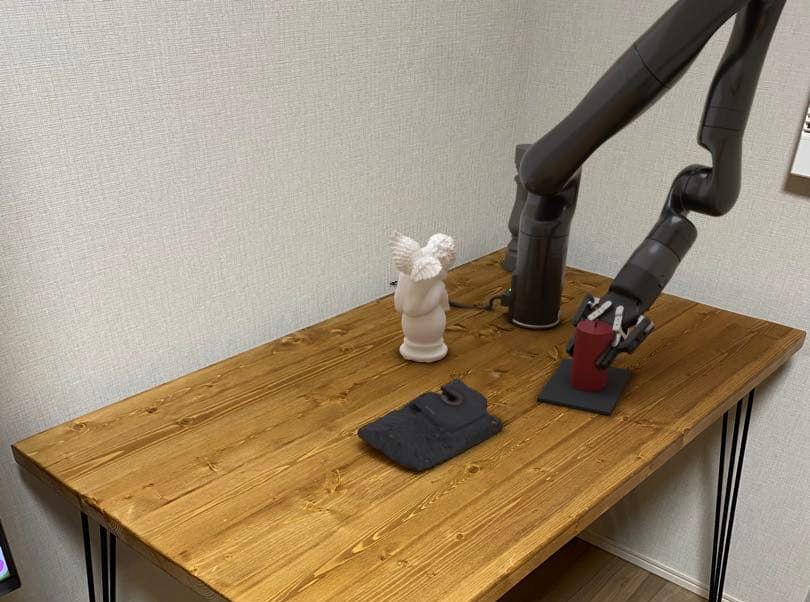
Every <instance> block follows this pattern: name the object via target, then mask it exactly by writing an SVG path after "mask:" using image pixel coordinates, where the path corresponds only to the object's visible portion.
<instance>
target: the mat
mask: <svg viewBox="0 0 810 602" xmlns="http://www.w3.org/2000/svg"><path fill="white" fill-rule="evenodd" d="M572 359H573V358H572ZM572 359H571V358H567V357H564V358H563V359H562V361H561V362H560V364H559V366H558V367H557V368H556V370H555V371H554V373H553V374H552V376H550V378H549V380H548V381H547V382H546V384H545V385H544V387H543V388H542V390H541V392H539V395H538V396H537V399H536V401H537V402H541V403H546V404H550V405H556V406H560V407H564V408H565V407H566V408H570V409H575V410H579V411H584V412H588V413H589V412H590V413H594V414H600V415H605V416H611V414H612V412H613V411H614V409H615V407H616V404H617V402H618V401H619V399H620V397H621V395H622V393H623V391H624V389H625V387H626V385H627V383H628V381H629V379H630V378H631V375H632V373H633V371H632V370H630V369H624V368H619V367H614V366H610V367H609V368H608V374H607V380H606V386H605V388H604V389H602V390H599V391H591V392H590V391H582V390H578V389H576V388H574V387H572V386H571V385H570V382H569V381H570V374H571V366H572Z"/></svg>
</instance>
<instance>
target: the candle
mask: <svg viewBox="0 0 810 602" xmlns="http://www.w3.org/2000/svg"><path fill="white" fill-rule="evenodd" d="M575 332H576V336H575V344H574V351H573V357H572V366H571V374H570V381H569V382H570V385H571V386H572V387H574V388H576V389H578V390H582V391H590V392H591V391H599V390H602V389H604V388H605V386H606V380H607V374H608V369H605V370H604V371H603V372H602V371H600V370H598V368H597V367H596V366H595V364H596V362H597V360H598V359H599V358H600V356H601V355H602V353H603V352H604V350H605V349H606V348H607V346H611V341H612V337H613V334H614V330H613V326H611V325H608V324H607V323H604V322H601V321H599V320H598V319H596V320H584V321H581V322H579V323H578V324H577V329H575Z"/></svg>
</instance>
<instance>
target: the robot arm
mask: <svg viewBox="0 0 810 602" xmlns="http://www.w3.org/2000/svg"><path fill="white" fill-rule="evenodd" d="M787 1H788V0H676V1H675V2H674V3H673V4H672V5H670V7H669V8H668V9H667V10H665V11H664V12H663V13H662V14H661V15H660V16H659V17H658V18H657V19H656V20H655V21H654V22H653V23H652V24H651V25H650V26H649V27H648V28H647V29H646V30H645V31H644V32H643V33H642V34H641V35H640V36H638V37H637V38H636V39H635V40H634V41H633V42H632V44H630V45H629V46H628V47H627V49H625V51H623V52H622V54H620V56H619V57H618V58H616V59H615V61H614V62H613V63H611V66H610V67H609V68H608V69H606V71H605V72H604V73H603V74H602V75H601V76H600V77H599V79H598V80H597V81H596V82H595V83H594V85H593V86H592V87H591V88H590V89H589V90H588V92H587V93H586V94H585V95H584V97H583V98H582V99H581V101H580V102H579V103H578V104H576V106H575V107H574V109H572V110H571V111H570V113H568V114H567V115H566V116H565V117H564V118H563V119H561V121H560V122H558V123H557V124H556V125H555V126H554V127H552V128H551V129H550V130H549V131H547V133H545V134H544V135H543V136H542V137H540V138H539V139H538V140H536V141H533V143H531V144H532V145H531V146H530V147H529V148H528V149H527V150H526V152H525V153H524V155H523V157H522V160H521V163H520V170H519V173H520V180H521V183H522V185H523V186H524V188H525V189H526V190H527V191H528V192H529V193H528V198H527V201H526V204H525V207H524V209H523V211H522V214H521V217H520V226H519V237H518V248H517V259H516V269H515V271H514V272H512V273H511V278H510V280H511V281H510V286H507V287H506V288H505V290H504V291H503V292H502V293H501V294H499V295H497V294H496V295H494V296H492V297H490V298H489V300H488V305H485V306H480V307H474V306H468V305H464V304H461V303H459V302H458V303H457V302H455V301H453V300H449V299H448V303H449V306H450V305H451V306H453V307H455V308H456V307H457V308H459V309H460V308H461V309H479V310H489V309H492V308H493V306H494V301H495V300H500V303H499V306H500V307H506V308H508V309H507V310H508V311H507V322H508V323H513V325H516V326H518V327H521V328H525V329H528V330H546V329H547V330H548V329H552V328H555V327H557V325H559V323H560V316H561V315H562V310H563V306H561V305H562V298H563V291H564V283H565V275H566V267H567V259H568V258H567V257H568V250H569V243H570V234H571V227H572V223H573V219H574V216H575V214H576V211H577V207H578V199H579V193H580V187H581V181H582V180H581V179H582V172H583V165H584V164H585V163H586V161H588V159H589V158H590V157H591V156H592V155H593V154H594V153H595V152H596V151H598V149H599V148H600V147H601V146H603V145H604V144H605V143H606V142H607V141H609V140H610V139H612V138H613V137H614V136H616V135H617V134H619V133H620V132H622V131H623V130H624V129H626V128H627V127H628V126H630V125H631V124H633V123H634V122H635V121H637V120H638V119H639V118H640V117H642V116H643V115H644V114H645V113H647V111H649V110H650V109H651V108H652V107H654V106H655V105H656V104H657V103H659V101H660V100H661V99H663V97H664V96H665V95H666V94H668V93H669V92H670V91H671V90H672V89H673V88H674V87H675V86H676V85H677V84H678V83H679V82H680V81H681V80H682V79H683V78H684V76H685V75H686V74H687V73H688V72H689V70H690V69H691V68H692V66H693V65H694V63H695V62H696V60H697V59H698V58H699V56H700V55H701V53H702V52H703V50H704V48H705V47H706V45H707V44H708V43H709V41H710V40H711V39H712V37H714V35H715V34H716V33H717V32H718V31H719V30H720V29H721V27H722V26H724V25H725V24H726V23H727V22H728V21H729V20H730V19H731V18H732V17H733V16H735V18H734V22H733V26H732V28H731V29H732V30H731V32H730V35H729V38H728V41H727V44H726V47H725V49H724V51H723V53H722V56H721V57H720V60H719V62H718V63H717V66H716V69H715V71H714V74H713V76H712V79H711V81H710V84H709V87H708V90H707V93H706V97H705V100H704V105H703V108H702V111H701V115H700V119H699V125H698V128H697V131H696V138H695V139H696V143H697V145H698V146H699V147H700V148H702V149H704V150H706V152H709V153H710V156H711V164H712V166H709V165H705V164H700V163H691V164H688V165H687V166H685V167H684V168H682V169H681V170H680V171H679V172H678V173H677V174H676V175H675V177H674V179H673V180H672V182H671V185H670V187H669V190H668V193H667V195H666V198H665V200H664V203H663V206H662V208H661V210H660V213H659V216H658V219H657V221H656V222H655V223H654V225H653V226H652V227H651V229H650V230H649V232H648V233H647V234H646V236H645V237H644V239H642V241H641V243H639V244H638V246H637V247H636V248H635V249H634V250H633V251H632V253H631V254H630V255H629V257H628V258H627V260H626V262H625V263H624V264H623V266H622V267H621V268H620V270H619V271H618V273H617V274H616V275H615V277H614V278H613V280H612V281H611V282H610V284H609V287H608V291H607V292H606V293H605V294H604V295H603V296H601V297H596V296H594V295H593V294H592V293H591V292H589V293H586V294H585V295H584V297H583V299H582V301H581V303H580V305H579V306H578V308H577V309H576V311H575V313H574V315H573V317H572V318H571V320H570V324H571V325H572V326H573V328H574V329H575V330H576V329H577V324H578V323H579V322H581V321H584V320H599V321H601V322H604V323H607V324H608V325H611V326H613V330H614V334H613V337H612V341H611V346H607V348H606V349H605V350H604V352H603V353H602V355H601V356H600V358H599V359H598V360H597V362H596V364H595V366H596V367H597V368H598V370H600V371H602V372H603V371H604V370H605V369H608V368H609V367H612V364H613V362H614V361H615V360H616V359H617V357H618V356H619V355H620V354H624V353H627V355H632V354H634V353H635V351H637V350H638V348H640V346H641V345H642V344H643V343H644V341H646V339H647V338H648V337H649V336H650V334H651V333H653V331H654V330H655V329H656V325H655V324H654V322H653V320H652V319H651V318H650V317H649V316H644V315H645V313H647V312H648V311H650V309H651V308H652V307H653V305H654V304H655V302H656V301H657V299H658V298H659V296H660V295H661V294H662V292H663V291H664V290H665V288H666V287H667V286H668V283H669V282H670V281H671V279H672V278H673V276H674V274H675V273H676V271H677V269H678V267H679V266H680V264H681V263H682V261H683V260H685V259H684V258H685V257H686V256H687V255H688V253H689V252H690V250H691V248H692V247H693V246H694V244H695V243H696V241H697V240H698V236H699V232H698V228H697V226H696V225H695V224H694V222H693V221H691V220H690V219H689V218H688V216H689V214H690V213H691V212H693V213H697V214H701V215H704V216H708V217H712V218H721V217H724V216H725V215H727V214H728V213H729V212H731V211H732V209H733V208H734V207H735V205H736V203H737V202H738V199H739V197H740V193H741V189H742V174H743V173H742V171H743V169H742V168H743V142H744V136H745V133H746V130H747V126H748V122H749V120H750V114H751V111H752V107H753V104H754V100H755V96H756V92H757V88H758V85H759V81H760V78H761V75H762V71H763V68H764V64H765V61H766V58H767V55H768V51H769V49H770V45H771V42H772V40H773V37H774V34H775V31H776V29H777V26H778V23H779V20H780V19H781V15H782V13H783V12H784V11H783V10H784V8H785V6H786V4H787ZM391 282H392V281H391ZM391 282H389V285H390V286H394V285H395V284H398V281H395V282H392V283H391ZM632 327H635V328H633V329H632V331H631V332H630V329H631V328H632ZM575 336H576V331H575V332H574V333H573V335H572V336H571V338H570V339H569V341H568V342H567V344H566V346H565V352H566V354H567V355H568V356H569V357H571V358H573V351H574V344H575Z"/></svg>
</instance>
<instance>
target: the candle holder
mask: <svg viewBox="0 0 810 602" xmlns="http://www.w3.org/2000/svg"><path fill="white" fill-rule="evenodd" d="M532 144H533V143H520V144H516V146H515V153H514V164H515V169H516V172H517V174H516V175H515V176H514V177H513V178H514V179H513V181H514V182H515V184H516V192H515V200H514V203H513V206H512V210H511V213H510V216H509V219H508V223H507V228H508V231H509V233H510V234H511V235H510V237H511V239H510V241H509V242H508V243H507V245H506V248H507V249H506V250H505V254H504V255H505V256H504V269H505V270H507V271H509V272H512V273H513V272H514V271H515V269H516V259H517V248H518V237H519V226H520V217H521V214H522V211H523V209H524V207H525V204H526V201H527V198H528V193H529V192H528V191H527V190H526V189H525V188H524V186H523V185H522V183H521V180H520V173H519V170H520V163H521V160H522V157H523V155H524V153H525V152H526V150H527V149H528V148H529V147H530V146H531V145H532Z"/></svg>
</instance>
